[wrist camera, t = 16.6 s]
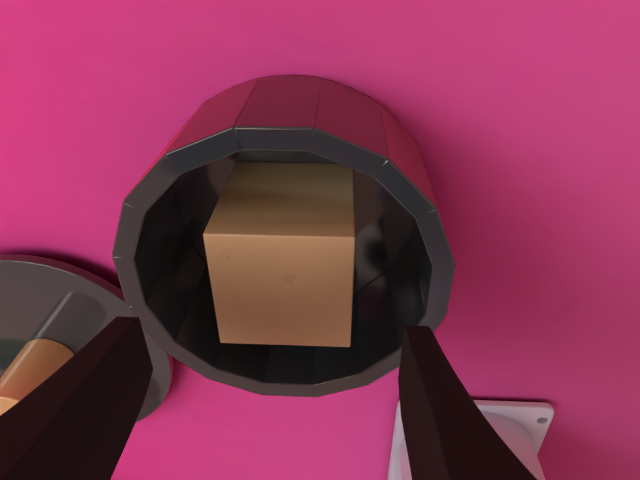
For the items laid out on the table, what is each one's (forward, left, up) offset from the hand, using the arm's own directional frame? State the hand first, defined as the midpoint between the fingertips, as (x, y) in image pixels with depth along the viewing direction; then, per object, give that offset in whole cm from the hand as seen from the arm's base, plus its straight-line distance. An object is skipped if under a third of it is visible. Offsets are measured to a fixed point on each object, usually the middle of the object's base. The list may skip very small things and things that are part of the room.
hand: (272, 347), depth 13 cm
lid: (-8, +12, -7) cm, 16 cm away
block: (0, 0, -7) cm, 7 cm away
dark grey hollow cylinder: (0, 0, -8) cm, 8 cm away
